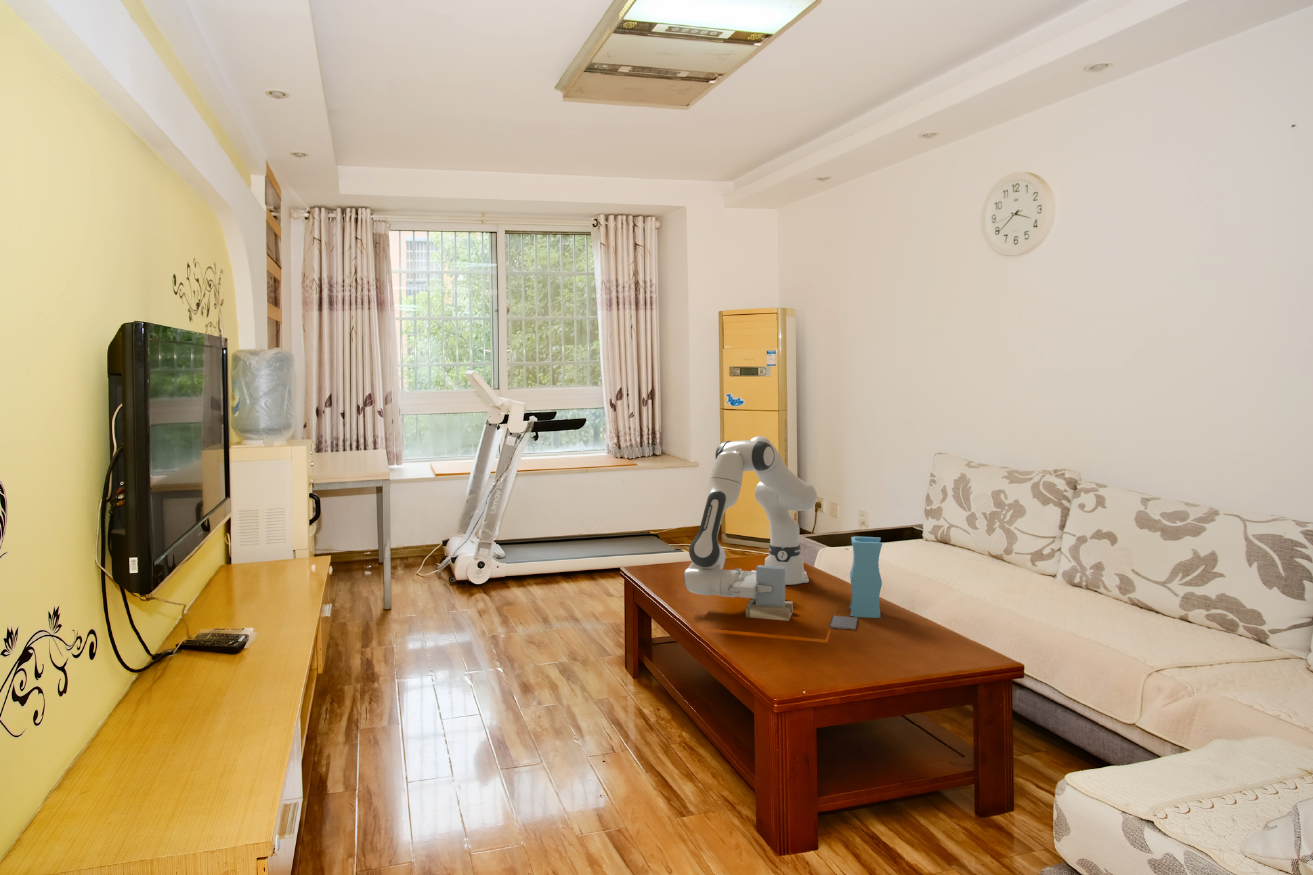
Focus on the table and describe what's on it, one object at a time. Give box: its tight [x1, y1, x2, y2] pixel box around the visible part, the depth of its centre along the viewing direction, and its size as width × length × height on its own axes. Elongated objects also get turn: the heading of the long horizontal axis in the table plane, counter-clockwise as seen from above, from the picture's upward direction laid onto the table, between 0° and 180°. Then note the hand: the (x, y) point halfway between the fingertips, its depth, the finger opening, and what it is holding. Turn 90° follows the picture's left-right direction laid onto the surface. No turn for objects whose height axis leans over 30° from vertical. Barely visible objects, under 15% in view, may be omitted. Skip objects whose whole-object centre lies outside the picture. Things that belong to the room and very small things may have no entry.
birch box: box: [745, 598, 794, 621], centre depth 277 cm, size 10×14×4 cm
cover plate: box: [755, 564, 786, 607], centre depth 277 cm, size 4×9×15 cm, turn 74°
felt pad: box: [828, 615, 859, 631], centre depth 271 cm, size 12×12×1 cm
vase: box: [849, 536, 883, 619], centre depth 282 cm, size 10×10×25 cm
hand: (773, 586), depth 277 cm, fingers closed on cover plate, 4 cm apart
